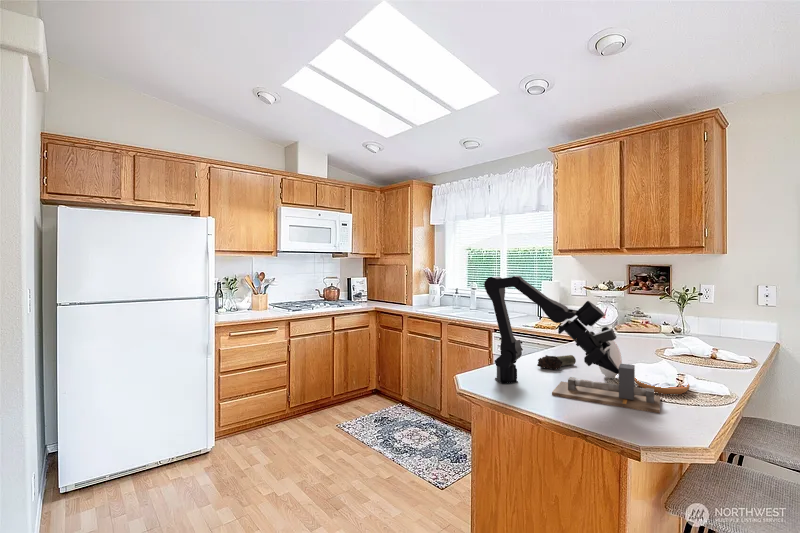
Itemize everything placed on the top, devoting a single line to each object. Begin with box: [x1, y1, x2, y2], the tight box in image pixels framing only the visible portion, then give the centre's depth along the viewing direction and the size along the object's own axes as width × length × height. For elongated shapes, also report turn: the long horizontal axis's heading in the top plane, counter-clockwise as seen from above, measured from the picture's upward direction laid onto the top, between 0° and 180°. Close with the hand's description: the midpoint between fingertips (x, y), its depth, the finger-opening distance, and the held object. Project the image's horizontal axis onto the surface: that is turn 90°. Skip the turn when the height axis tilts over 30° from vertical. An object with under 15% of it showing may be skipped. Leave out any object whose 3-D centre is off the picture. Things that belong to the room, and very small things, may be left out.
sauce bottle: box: [598, 340, 623, 379], centre depth 150 cm, size 8×8×18 cm
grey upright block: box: [618, 363, 636, 400], centre depth 125 cm, size 4×6×10 cm
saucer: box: [635, 378, 690, 395], centre depth 137 cm, size 16×16×3 cm
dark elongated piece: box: [536, 354, 577, 371], centre depth 166 cm, size 18×7×6 cm, turn 113°
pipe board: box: [551, 376, 661, 414], centre depth 129 cm, size 30×14×5 cm, turn 56°
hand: (618, 372), depth 126 cm, fingers closed
